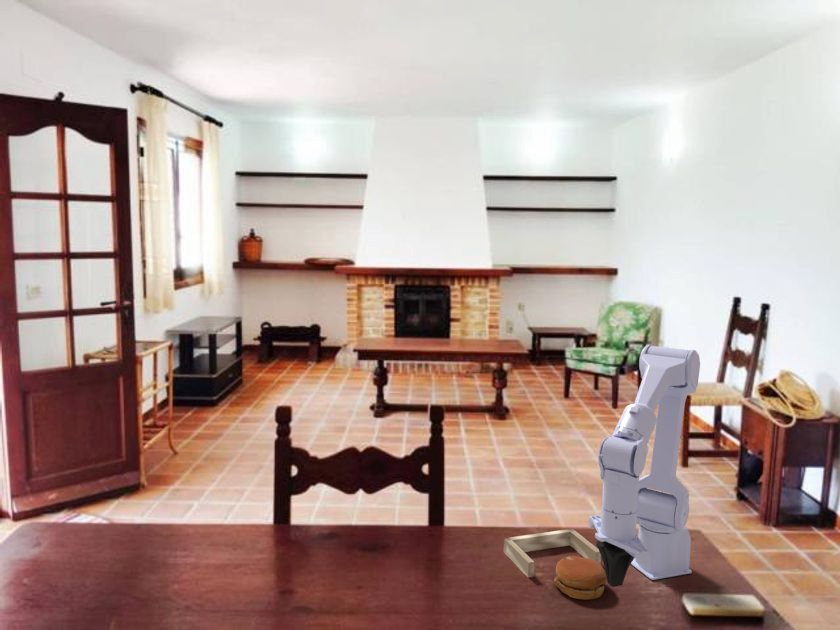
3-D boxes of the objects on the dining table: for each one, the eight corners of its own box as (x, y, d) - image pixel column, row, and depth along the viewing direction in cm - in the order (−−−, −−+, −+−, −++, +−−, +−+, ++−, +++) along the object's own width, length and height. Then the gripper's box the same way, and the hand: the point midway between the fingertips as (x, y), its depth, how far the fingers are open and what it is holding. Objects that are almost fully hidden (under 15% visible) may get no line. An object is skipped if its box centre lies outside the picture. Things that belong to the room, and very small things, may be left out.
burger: (588, 607, 119) (589, 582, 118) (544, 587, 125) (544, 563, 124) (616, 587, 126) (617, 563, 125) (572, 569, 132) (573, 546, 131)
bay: (571, 542, 143) (572, 528, 143) (600, 565, 133) (601, 551, 133) (503, 552, 138) (504, 538, 138) (527, 577, 128) (528, 562, 128)
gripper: (575, 494, 119) (571, 567, 120) (625, 528, 105) (620, 610, 107) (609, 490, 121) (605, 561, 123) (662, 523, 107) (657, 603, 109)
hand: (614, 584), depth 115 cm, fingers closed
